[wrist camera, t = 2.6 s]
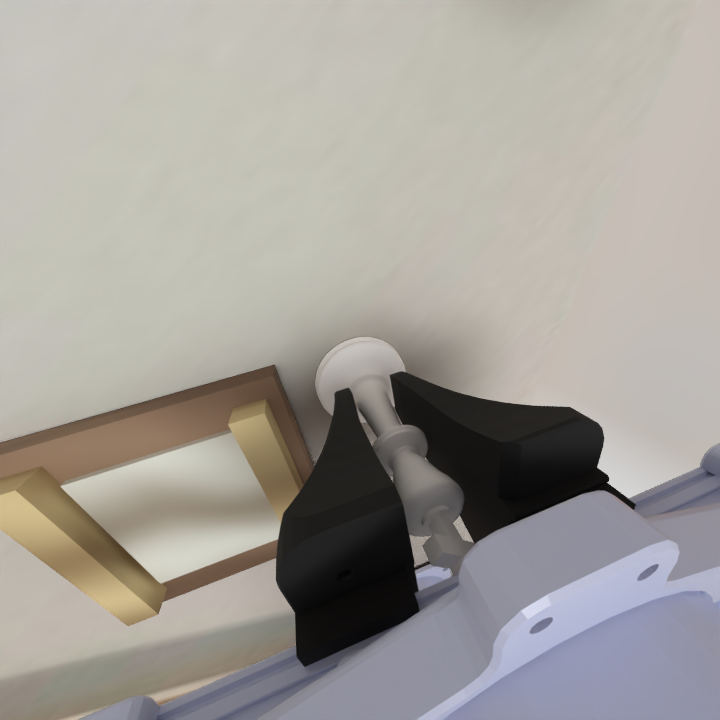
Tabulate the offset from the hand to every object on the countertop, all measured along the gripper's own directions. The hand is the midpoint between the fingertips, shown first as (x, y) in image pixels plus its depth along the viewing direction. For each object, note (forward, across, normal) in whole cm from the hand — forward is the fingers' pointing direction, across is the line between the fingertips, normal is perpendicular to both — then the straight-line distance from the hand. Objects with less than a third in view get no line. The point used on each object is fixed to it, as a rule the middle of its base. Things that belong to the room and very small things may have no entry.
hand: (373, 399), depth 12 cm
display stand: (+2, +10, +4) cm, 11 cm away
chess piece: (+3, 0, 0) cm, 3 cm away
